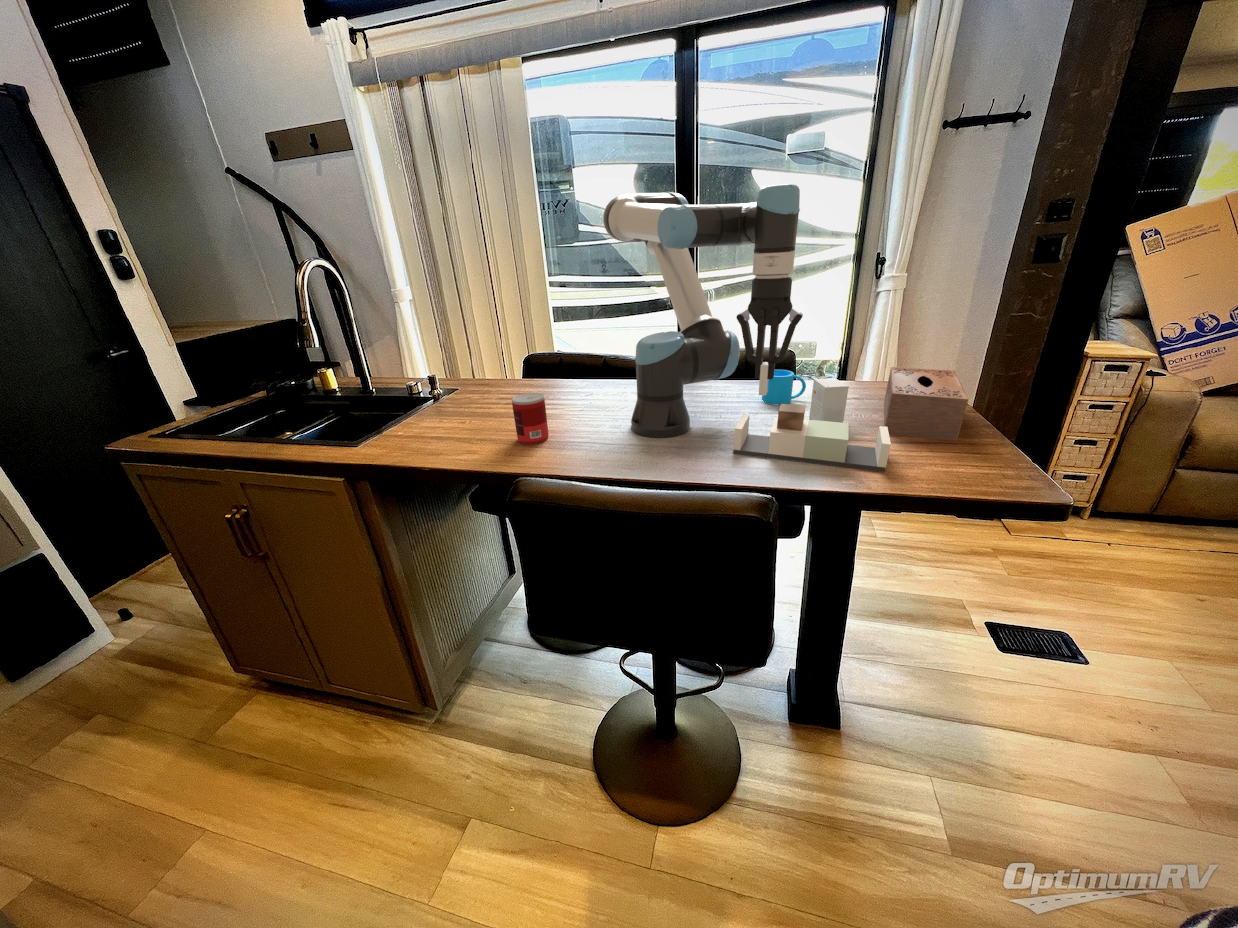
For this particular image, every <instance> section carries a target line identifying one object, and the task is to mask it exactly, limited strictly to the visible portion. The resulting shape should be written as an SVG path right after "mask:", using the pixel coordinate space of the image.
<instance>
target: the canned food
mask: <svg viewBox="0 0 1238 928" xmlns="http://www.w3.org/2000/svg"><path fill="white" fill-rule="evenodd" d="M511 404H512V406H511V407H512V412H513V413H512V414H513V418H514V424H515V431H516V437H517V440H518V442H519V443H520V444H522V445H528V446H530V445H537V444H541V443H543V442H545V441H547V439H548V438H549V427H548V426H549V425H548V418H547V417H548V416H547V410H546V401H545V396H544V394H543V393H540V392H526V393H519V394H518V395H515V396H513V397H512V398H511Z"/></svg>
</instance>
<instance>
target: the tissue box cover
mask: <svg viewBox="0 0 1238 928" xmlns="http://www.w3.org/2000/svg"><path fill="white" fill-rule="evenodd" d="M889 370H890V371H889V374H888V375H889V377H888V379H887V380H888V381H887V385H886V390H885V391H886V392H885V394H884V395H885V396H884V402H883V403H884V404H883V426H885V427H888V432H889V435H890V434H891V435H900V436H907V437H915V438H916V437H917V438H918V437H919V438H923V439H924V438H926V439H934V440H945V441H953V442H957V441H958V438H959V434H960V432H961V429H962V428H961V427H962V424H963V420H964V416H965V413H966V410H967V406H968V403H969V398H968V396H967V394H966V392H965V389H964V388H963V386H962V384H961V383H962V382H960V380H959V378H958V375H957V373H956V371H955V370H951V369H950V370H949V369H948V370H947V369H932V368H931V369H930V368H914V367H913V368H912V367H895V366H891V367H890V369H889Z"/></svg>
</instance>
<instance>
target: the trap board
mask: <svg viewBox="0 0 1238 928" xmlns="http://www.w3.org/2000/svg"><path fill="white" fill-rule="evenodd" d="M750 417H751V416H750V413H748V414H747V413H742V415H741V417H740V418H739V420H738V422H737V424H736V426H735V427H734V432H733V433H734V434H733V436H734V437H733V455H742V456H751V457H759V458H767V459H774V460H775V459H776V460H783V461H791V462H801V463H805V464H806V463H808V464H815V465H816V464H817V465H824V466H832V467H833V466H834V467H840V468H848V469H854V470H855V469H857V470H866V471H872V472H881V473H886V469H887V465H888V459H889V457H890V456H889V455H890V451H891V445H892V443H891V438H890V437H891V436H890V434H889V432H888V427H885V426H884V425H879V427H878V430H877V431H878V432H877V437H876V440H875V447H873V446H872V447H871V446H863V445H853V444H849V422H843V423H840V422H829V421H818V420H811V419H805V418H804V422H803V427H802V431H797V430H787V429H777V422H778V416H776V417H775V419H774V422H773V424H772V427H771V430H770V434H769V436H768V435H767V436H766V435H759V434H749V429H750V427H749V426H750Z"/></svg>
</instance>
